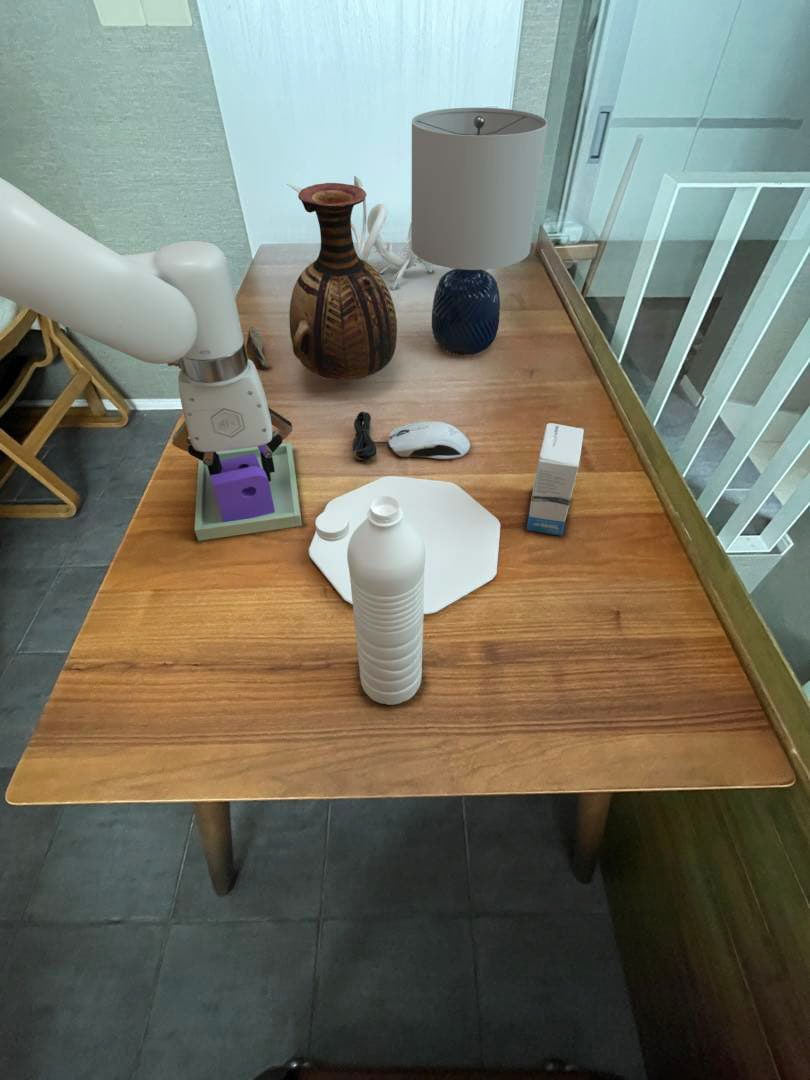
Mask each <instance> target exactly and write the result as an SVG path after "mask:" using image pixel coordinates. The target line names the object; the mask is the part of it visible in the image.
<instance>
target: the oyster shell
mask: <svg viewBox="0 0 810 1080" xmlns="http://www.w3.org/2000/svg"><path fill="white" fill-rule="evenodd" d="M262 338H263V337H262V334H261V332H260V331H259V330H258V329H257V328H255V327H253V326H250V327H249V330H248V333H247V341H246V344H245V349H246V353H247V358H248V359H250V360H251V361H252V362H253V363H254V365H255V367H256V368H258V369H262V370H266V369H268V368H269V363H268V362H267V361H266V357H265V355H264V353H263V348H264V346H263V339H262Z"/></svg>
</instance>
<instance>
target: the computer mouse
mask: <svg viewBox="0 0 810 1080" xmlns="http://www.w3.org/2000/svg"><path fill="white" fill-rule="evenodd" d="M371 421H372V416H371V414H370V413H369V412H368V411H367V412H365V411H359V413H358V414H357V415H356V418H355V419H354V422H353V426H354V427H353V428H354V431H355V433H354V434H355V435H354V438H353V441H352V452H353V458H355V459H357V460H359V461H361V460H362V461H365V462H368V461H370V460H371V459H372V458H374V457H375V456H376V455H377V453H378V450H377V449H378V448H377V445H381V444H387V445H388V446H389V447H390V448H391V449H392V451H393V452H394V453H395V454H397V455H398V456H399V457H403V458H408V457H409V458H410V457H418V458H419V457H420V458H429V459H434V460H457V459H460V458H462V457H464V456H465V455H466V454H467V453H469V451H470V449H471V442H470V440H469V439H468V438H467V436H466V435H465V434H464V433H463V432H462V431H461V430H459V429H458V428H457V427H455V426H454V425H452V424H449V423H447V422H444V421H418V422H417V421H416V422H412V423H408V424H405V425H401V426H398V427H395V428H393V429H392V431H391V432H390V434H389V435H388V438H390V439H389V440H388V441H374V440H373V439H372V437H371V435H370V427H371Z"/></svg>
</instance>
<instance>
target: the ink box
mask: <svg viewBox="0 0 810 1080" xmlns="http://www.w3.org/2000/svg"><path fill="white" fill-rule="evenodd" d="M584 431H585V430H584V428H583V427H576V426H570V425H564V424H560V423H559V424H558V423H553V422H549V423H546V425H545V430H544V434H543V440H542V444H541V448H540V452H539V457H538V462H537V466H536V471H535V477H534V481H533V488H532V493H531V499H530V505H529V510H528V517H527V523H526V530H527V531H529V532H536V533H541V534H547V535H553V536H559V537H560V536H563V533H564V528H565V524H566V520H567V516H568V511H569V507H570V504H571V500H572V495H573V492H574V487H575V483H576V479H577V475H578V472H579V471H578V470H579V466H580V462H581V455H582V447H583V440H584Z"/></svg>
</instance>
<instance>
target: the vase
mask: <svg viewBox="0 0 810 1080" xmlns="http://www.w3.org/2000/svg"><path fill="white" fill-rule="evenodd" d="M301 189H302V190H301V191H300V192H299V193H298V194H297V196H298V197H297V198H298V199H299V200H300V202H301V203H302V205H303V208H304V210H305V212H307V213H310V214H311V213H314V212H315V214H316V218H317V221H318V228H319V232H320V233H319V234H320V249H319V253H318V256H317V258H316V260H314V261H313V262H311V263H310V264H309V265H308V266H306V267H305V269H303V271H302V272H301V273H300V274H299V276H298V278H297V280H296V281H295V284H294V287H293V290H292V293H291V298H290V303H289V315H288V316H289V318H288V319H289V320H288V321H289V333H290V339H291V345H292V352H293V355H294V356H295V358H296V359H297V360H299V362H300V363H301V364H302V365H303V367H305V369H307V370H308V371H309V372H310V373H312V374H314V375H315V376H317V377H321V378H324V379H328V380H334V381H355V380H361V379H365V378H368V377H370V376H373V375H375V374H376V373H378V372H380V371H381V370H383V369H384V368H386V366H388V365H389V363H390V362H391V361H392V359H393V357H394V354H395V351H396V346H397V339H398V338H397V337H398V336H397V335H398V320H397V314H396V309H395V304H394V302H393V298H392V296H391V293H390V291H389V288H388V286H387V284H386V282H385V281H384V279H383V276H381V273H380V272H378V270H377V269H376V268H375V267H374V266H372V265H371V264H370V263H368V262H365V261H363V260H361V259H360V256H359V254H358V253H357V250H356V248H355V245H354V240H353V233H352V232H353V231H352V228H351V222H352V213H353V209H354V207H355V206H356V205H359V204H361V203H363V201H364V200H365V199H366V197H367V192H366V191H365V190H364V189H363V188H362V189H361V188H360V187H357V186H355V185H354V184H348V183H341V182H324V183H317V184H313V185H309V186H307V187H305V188H301Z"/></svg>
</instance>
